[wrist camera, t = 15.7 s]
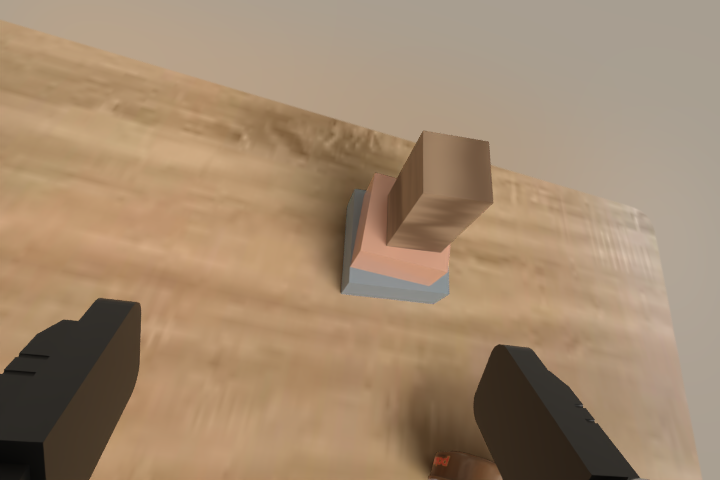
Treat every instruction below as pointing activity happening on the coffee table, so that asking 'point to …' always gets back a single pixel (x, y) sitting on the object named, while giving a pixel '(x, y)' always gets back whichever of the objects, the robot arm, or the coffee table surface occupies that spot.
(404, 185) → the pillar
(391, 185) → the tower cap
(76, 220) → the coffee table surface
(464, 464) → the tin
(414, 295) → the tower base
